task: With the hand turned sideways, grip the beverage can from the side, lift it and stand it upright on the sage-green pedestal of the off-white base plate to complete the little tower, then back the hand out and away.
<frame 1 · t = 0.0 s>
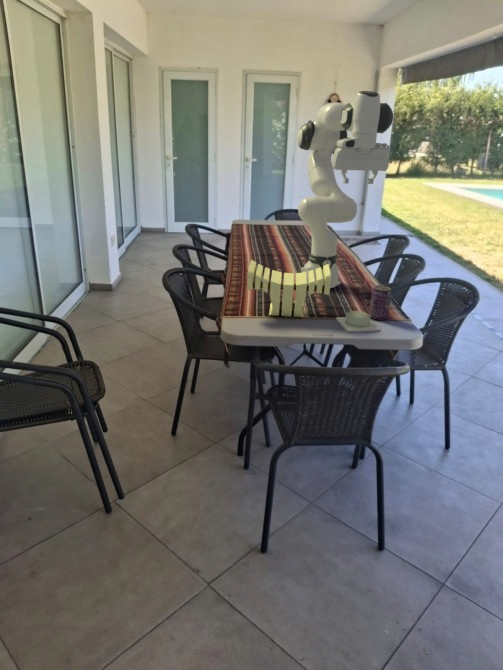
hand: (358, 183, 176), 48 cm above the table, tool pointing down, fingers open, 8 cm apart
beverage can: (377, 318, 187), on the table
slatted curved stool: (286, 312, 189), on the table
pedestal stand: (357, 324, 179), on the table
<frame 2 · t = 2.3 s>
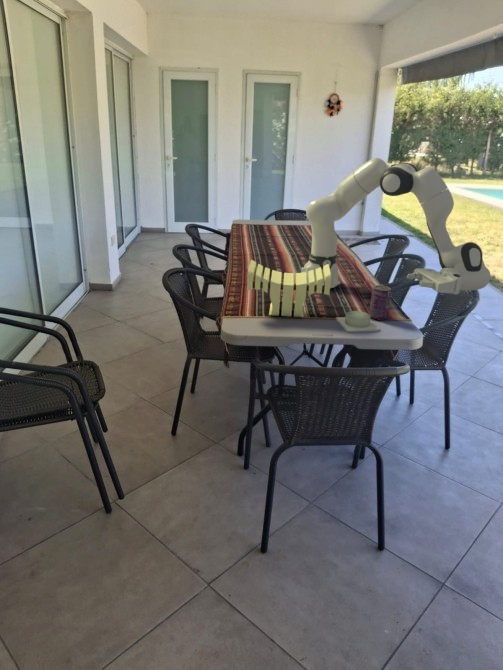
hand: (414, 280, 183), 15 cm above the table, tool horizontal, fingers open, 8 cm apart
nothing on the table moved.
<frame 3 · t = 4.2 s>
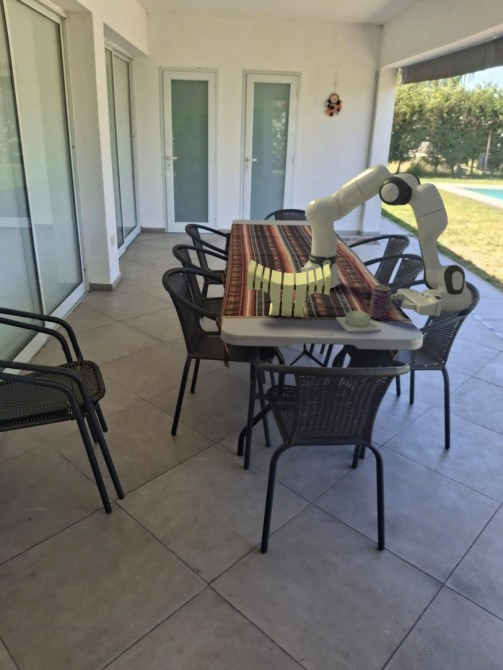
hand: (396, 301, 186), 6 cm above the table, tool horizontal, fingers open, 8 cm apart
nothing on the table moved.
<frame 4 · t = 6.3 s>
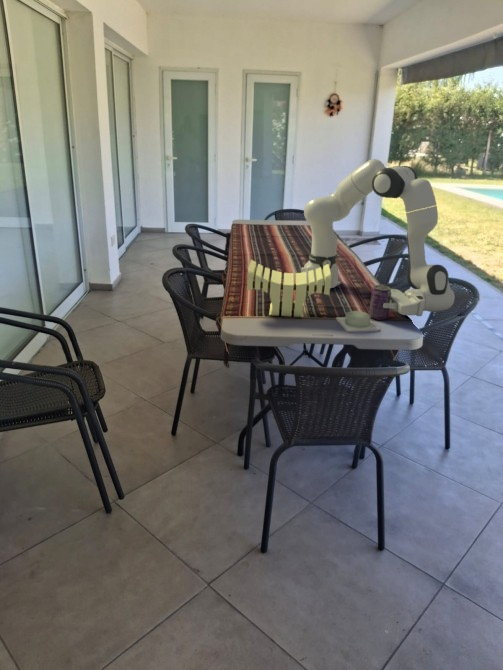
hand: (378, 301, 184), 7 cm above the table, tool horizontal, fingers closed on beverage can, 6 cm apart
beverage can: (377, 317, 187), on the table, touching gripper
everything else where it was.
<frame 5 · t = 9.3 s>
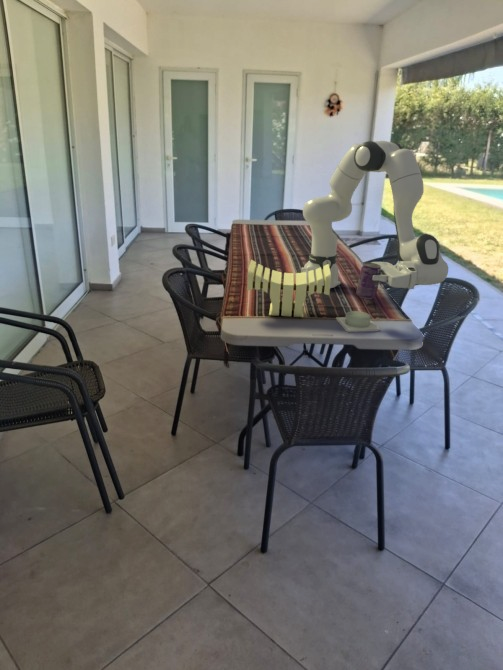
hand: (367, 274, 173), 19 cm above the table, tool horizontal, fingers closed on beverage can, 6 cm apart
beverage can: (365, 297, 177), point 10 cm above the table, touching gripper
everything else where it was.
when the fingers open (12 cm above the table, at t = 12.3 s): beverage can stays where it is, resting on pedestal stand.
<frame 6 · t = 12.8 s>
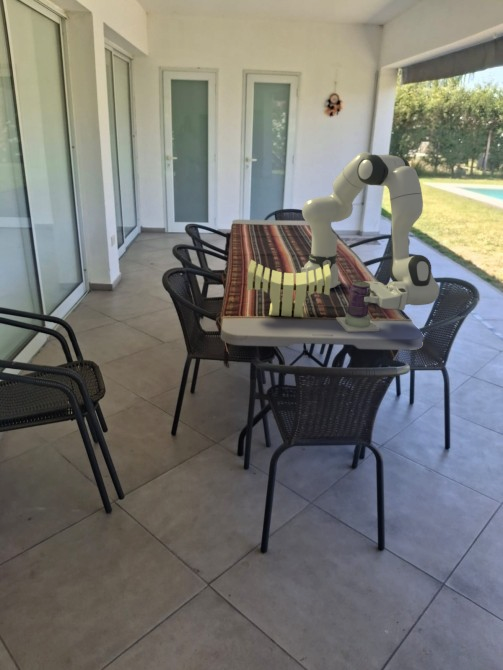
hand: (358, 294, 174), 12 cm above the table, tool horizontal, fingers open, 8 cm apart
beverage can: (357, 315, 178), point 4 cm above the table, touching pedestal stand
everything else where it was.
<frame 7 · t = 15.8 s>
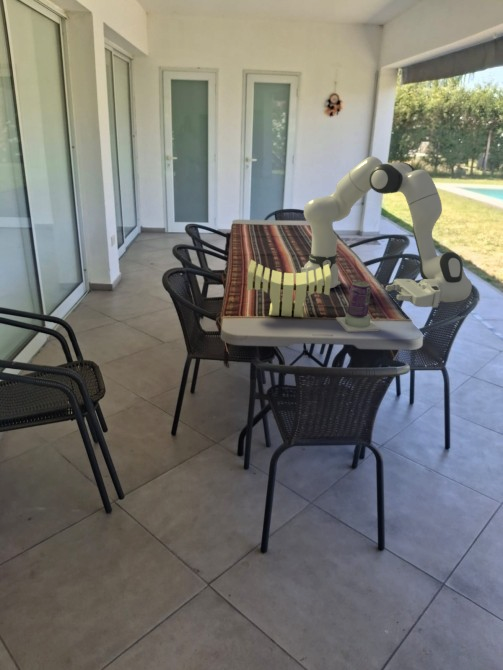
hand: (391, 292, 177), 12 cm above the table, tool horizontal, fingers open, 8 cm apart
nothing on the table moved.
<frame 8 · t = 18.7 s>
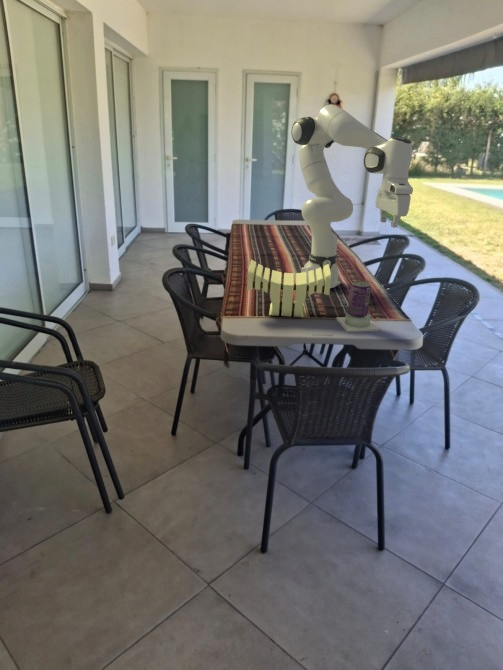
hand: (388, 224, 180), 34 cm above the table, tool pointing down, fingers open, 8 cm apart
nothing on the table moved.
at the end: beverage can 0.4 cm off-centre on the pedestal stand, point 3.6 cm above the pedestal stand's base; beverage can tilted 0°; the gripper is holding nothing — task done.
